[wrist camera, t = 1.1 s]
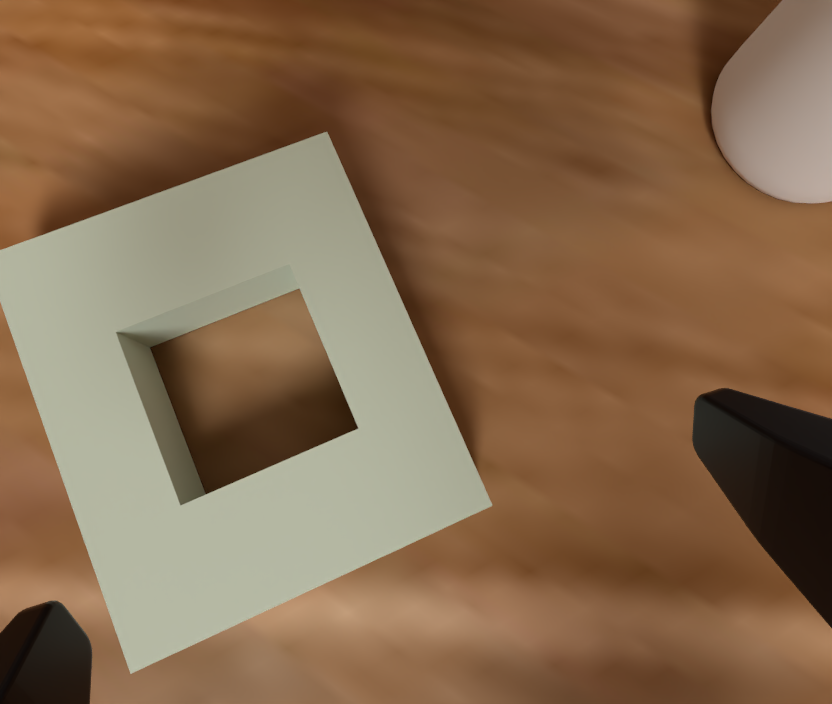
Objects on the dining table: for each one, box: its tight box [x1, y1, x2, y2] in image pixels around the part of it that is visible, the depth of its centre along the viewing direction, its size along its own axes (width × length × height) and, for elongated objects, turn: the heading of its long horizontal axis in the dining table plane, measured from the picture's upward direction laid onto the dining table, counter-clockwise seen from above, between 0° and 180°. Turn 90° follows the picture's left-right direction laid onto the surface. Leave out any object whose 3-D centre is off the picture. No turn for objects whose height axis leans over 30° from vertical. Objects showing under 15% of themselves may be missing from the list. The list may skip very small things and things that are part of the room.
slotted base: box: [0, 132, 492, 673], centre depth 21 cm, size 14×12×3 cm
